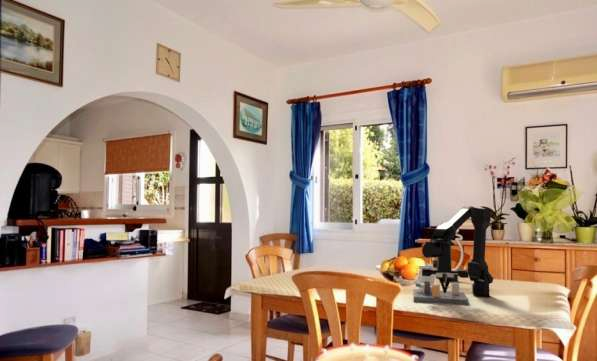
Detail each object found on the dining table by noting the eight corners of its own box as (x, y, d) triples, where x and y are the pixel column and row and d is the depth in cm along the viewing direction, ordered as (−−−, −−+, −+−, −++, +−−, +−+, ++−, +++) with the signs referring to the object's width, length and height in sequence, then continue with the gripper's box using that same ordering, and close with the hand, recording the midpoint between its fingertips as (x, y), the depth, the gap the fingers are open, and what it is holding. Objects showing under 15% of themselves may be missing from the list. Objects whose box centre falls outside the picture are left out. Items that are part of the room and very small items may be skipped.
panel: (463, 296, 195) (463, 282, 195) (468, 304, 180) (468, 289, 180) (413, 293, 201) (413, 280, 201) (413, 301, 185) (413, 287, 186)
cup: (436, 292, 205) (436, 266, 205) (417, 291, 206) (416, 265, 207) (434, 288, 213) (434, 263, 214) (415, 287, 215) (415, 263, 216)
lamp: (460, 278, 239) (459, 221, 240) (465, 281, 230) (464, 222, 231) (429, 278, 240) (429, 221, 241) (433, 281, 231) (432, 221, 233)
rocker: (437, 290, 196) (438, 287, 196) (438, 292, 192) (439, 289, 192) (415, 284, 199) (416, 281, 199) (415, 286, 195) (416, 283, 195)
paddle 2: (458, 292, 193) (458, 281, 194) (459, 294, 191) (459, 282, 191) (451, 292, 194) (451, 281, 194) (451, 293, 191) (451, 282, 192)
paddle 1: (439, 295, 188) (439, 284, 188) (440, 297, 185) (439, 285, 185) (431, 295, 189) (431, 283, 189) (432, 296, 186) (432, 285, 186)
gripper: (464, 254, 192) (465, 290, 191) (421, 253, 197) (421, 288, 196) (468, 258, 181) (468, 295, 181) (421, 256, 186) (422, 293, 185)
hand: (444, 292), depth 186 cm, fingers closed
